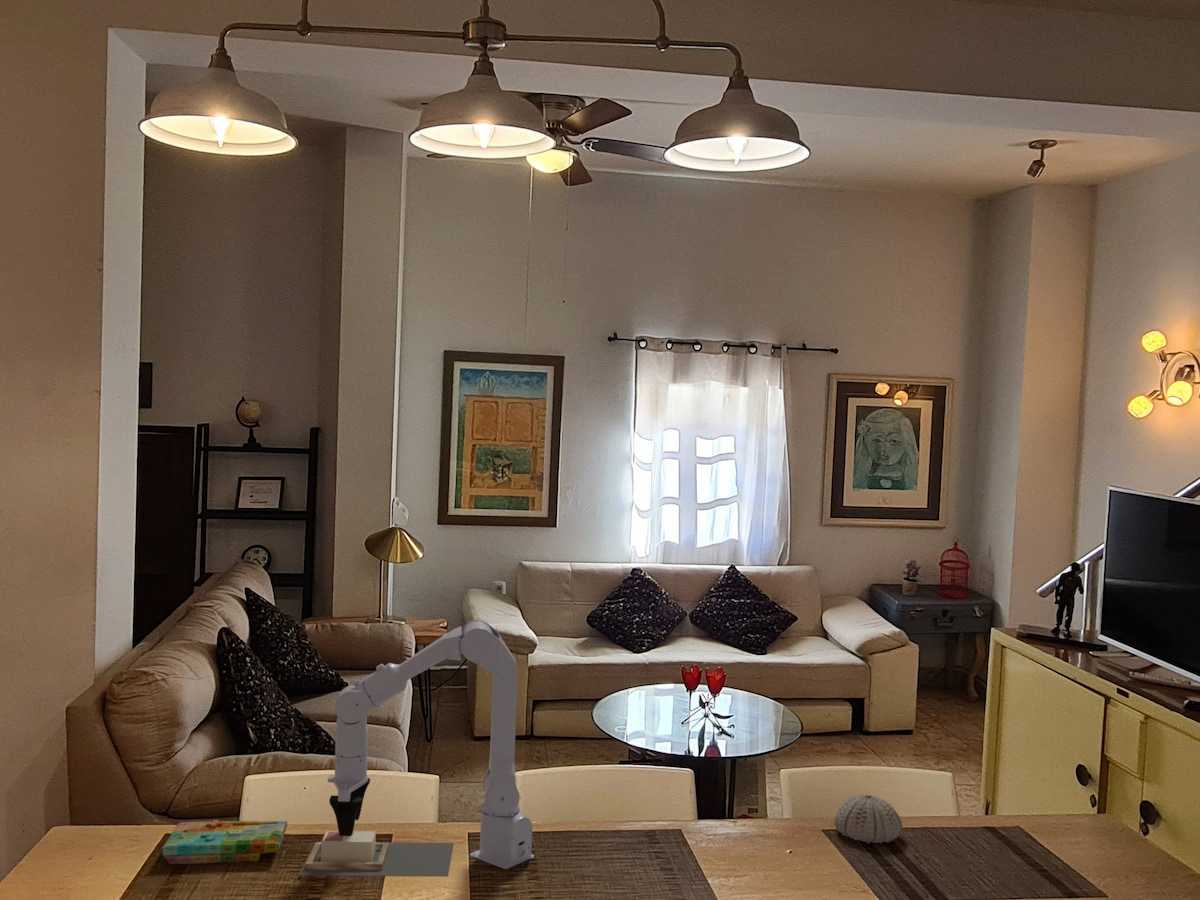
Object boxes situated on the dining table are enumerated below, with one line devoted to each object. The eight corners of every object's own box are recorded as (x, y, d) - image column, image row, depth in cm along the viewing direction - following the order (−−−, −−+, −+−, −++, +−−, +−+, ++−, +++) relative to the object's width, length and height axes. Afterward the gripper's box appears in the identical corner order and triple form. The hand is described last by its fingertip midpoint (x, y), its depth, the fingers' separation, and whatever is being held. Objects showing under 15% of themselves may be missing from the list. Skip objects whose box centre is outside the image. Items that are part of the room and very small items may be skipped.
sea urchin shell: (875, 854, 205) (876, 813, 205) (819, 832, 215) (821, 793, 215) (914, 839, 213) (916, 799, 213) (859, 818, 224) (860, 781, 223)
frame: (389, 847, 198) (389, 842, 198) (381, 869, 188) (381, 864, 188) (316, 847, 197) (316, 841, 197) (304, 869, 187) (305, 863, 187)
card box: (375, 852, 196) (375, 831, 196) (371, 863, 191) (372, 841, 191) (325, 852, 195) (326, 830, 195) (320, 863, 190) (321, 841, 190)
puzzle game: (177, 818, 199) (287, 815, 202) (177, 843, 199) (286, 840, 202) (162, 842, 188) (278, 839, 191) (161, 869, 188) (278, 865, 191)
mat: (453, 845, 202) (453, 842, 202) (447, 878, 187) (447, 875, 187) (315, 844, 200) (315, 842, 200) (298, 878, 185) (298, 875, 185)
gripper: (336, 741, 200) (334, 812, 200) (321, 765, 185) (319, 842, 185) (374, 741, 200) (372, 812, 200) (362, 766, 186) (360, 842, 186)
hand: (349, 827), depth 193 cm, fingers open, 7 cm apart
